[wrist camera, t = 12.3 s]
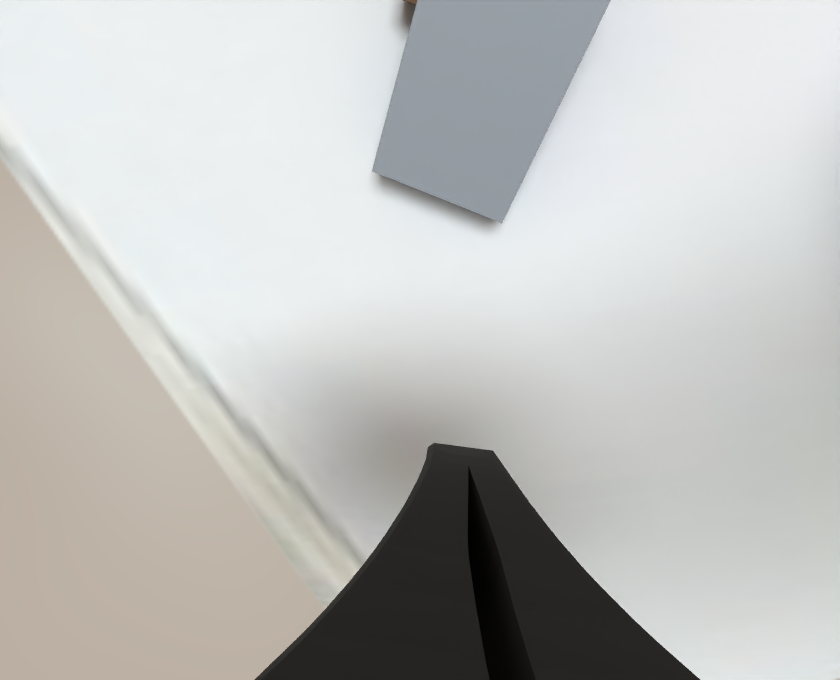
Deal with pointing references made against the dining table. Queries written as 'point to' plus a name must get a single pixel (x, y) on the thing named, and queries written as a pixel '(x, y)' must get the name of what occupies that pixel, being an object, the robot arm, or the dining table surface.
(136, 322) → the dining table surface
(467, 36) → the domino
